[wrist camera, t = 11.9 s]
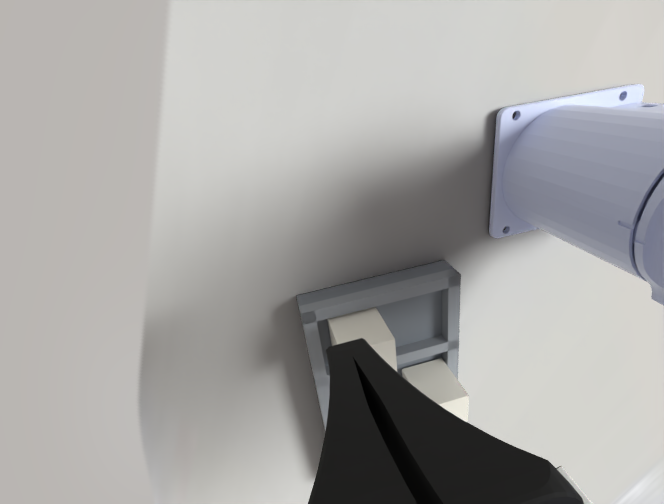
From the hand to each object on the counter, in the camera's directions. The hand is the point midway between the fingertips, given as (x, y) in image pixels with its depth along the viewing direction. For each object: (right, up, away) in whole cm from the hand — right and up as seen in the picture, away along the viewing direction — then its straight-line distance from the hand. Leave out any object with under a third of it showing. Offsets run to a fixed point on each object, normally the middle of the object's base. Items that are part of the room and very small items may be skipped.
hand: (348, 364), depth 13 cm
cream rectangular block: (+6, -5, +14) cm, 16 cm away
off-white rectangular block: (+1, -1, +10) cm, 10 cm away
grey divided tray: (+3, -5, +14) cm, 16 cm away
